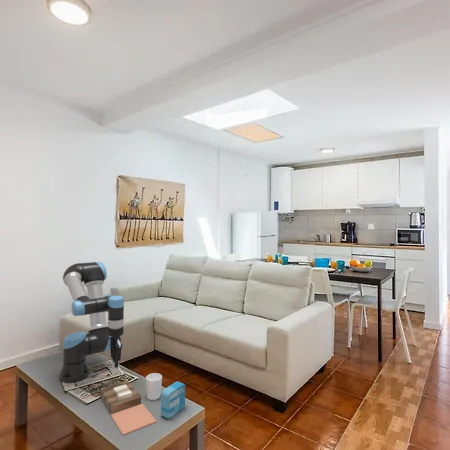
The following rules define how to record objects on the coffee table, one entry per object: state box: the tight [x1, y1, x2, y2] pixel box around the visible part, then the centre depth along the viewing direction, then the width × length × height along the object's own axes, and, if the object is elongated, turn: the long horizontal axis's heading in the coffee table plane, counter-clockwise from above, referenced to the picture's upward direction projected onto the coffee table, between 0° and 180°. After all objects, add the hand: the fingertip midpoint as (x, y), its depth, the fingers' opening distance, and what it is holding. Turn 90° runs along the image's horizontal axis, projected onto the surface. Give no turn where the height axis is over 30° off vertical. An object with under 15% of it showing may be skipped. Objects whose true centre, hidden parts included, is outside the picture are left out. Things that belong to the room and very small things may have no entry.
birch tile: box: [113, 384, 132, 402], centre depth 155 cm, size 9×6×2 cm, turn 37°
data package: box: [160, 381, 186, 420], centre depth 150 cm, size 12×4×12 cm, turn 147°
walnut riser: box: [99, 380, 142, 415], centre depth 158 cm, size 18×14×4 cm
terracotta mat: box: [110, 403, 157, 436], centre depth 144 cm, size 16×15×1 cm
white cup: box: [145, 372, 163, 401], centre depth 162 cm, size 8×8×10 cm
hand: (115, 372), depth 164 cm, fingers closed
